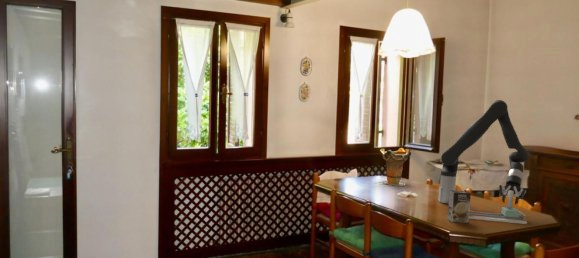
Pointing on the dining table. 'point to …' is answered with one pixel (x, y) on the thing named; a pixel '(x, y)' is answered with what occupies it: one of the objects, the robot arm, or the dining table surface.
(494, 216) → the rail track
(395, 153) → the decorative vase
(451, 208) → the coffee box
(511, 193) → the carriage
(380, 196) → the dining table surface
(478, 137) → the robot arm
